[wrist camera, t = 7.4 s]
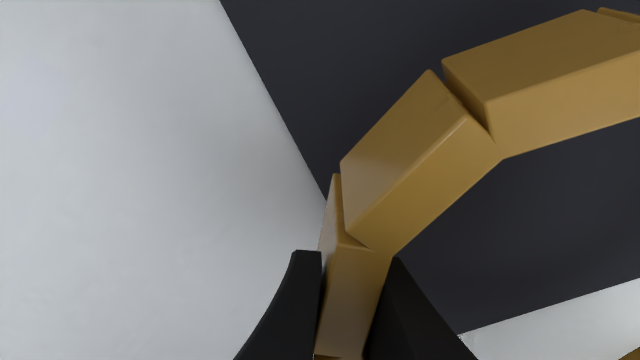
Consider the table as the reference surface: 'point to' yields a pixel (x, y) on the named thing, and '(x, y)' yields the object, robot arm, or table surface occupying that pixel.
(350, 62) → the mat
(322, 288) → the hoop
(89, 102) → the table surface
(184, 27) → the table surface
